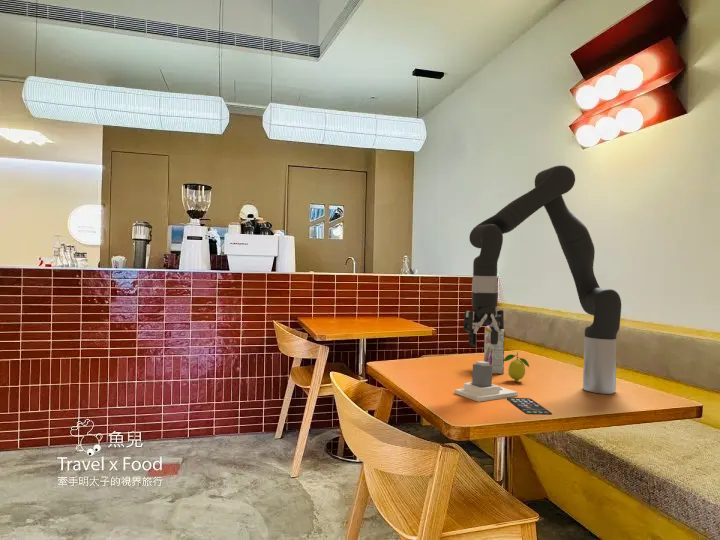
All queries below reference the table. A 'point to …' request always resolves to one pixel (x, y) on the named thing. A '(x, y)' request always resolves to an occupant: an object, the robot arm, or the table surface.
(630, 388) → the table surface
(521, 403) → the smartphone
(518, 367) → the lemon
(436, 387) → the table surface
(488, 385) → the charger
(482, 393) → the outlet plate
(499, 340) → the candy bar box
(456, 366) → the table surface
